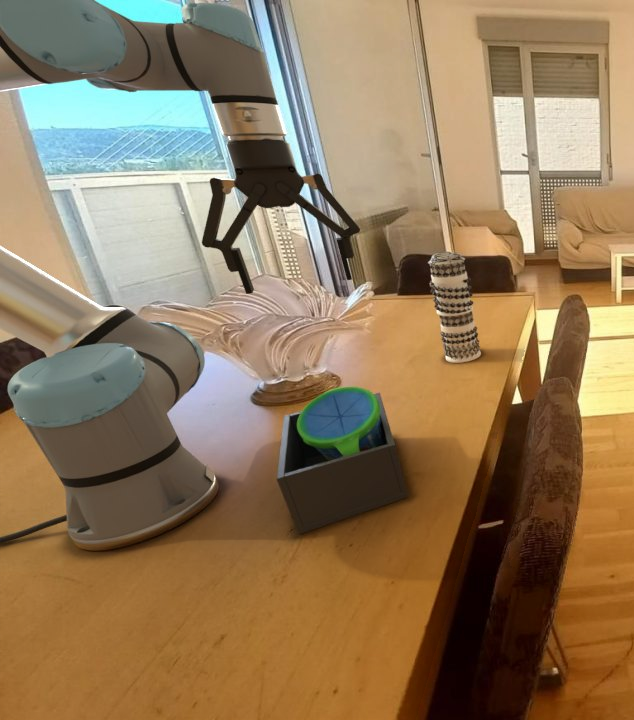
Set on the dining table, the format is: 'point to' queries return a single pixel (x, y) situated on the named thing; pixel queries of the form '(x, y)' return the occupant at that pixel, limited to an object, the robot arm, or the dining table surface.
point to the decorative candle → (454, 307)
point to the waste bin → (336, 478)
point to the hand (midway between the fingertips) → (301, 285)
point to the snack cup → (342, 422)
